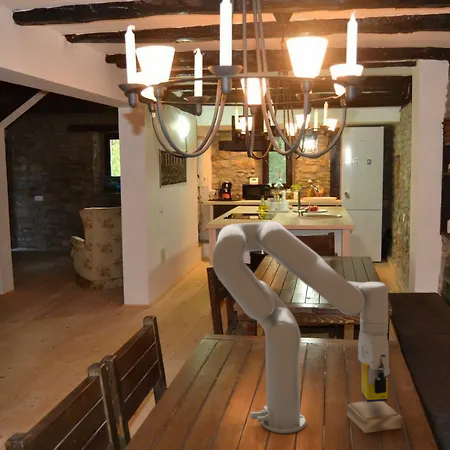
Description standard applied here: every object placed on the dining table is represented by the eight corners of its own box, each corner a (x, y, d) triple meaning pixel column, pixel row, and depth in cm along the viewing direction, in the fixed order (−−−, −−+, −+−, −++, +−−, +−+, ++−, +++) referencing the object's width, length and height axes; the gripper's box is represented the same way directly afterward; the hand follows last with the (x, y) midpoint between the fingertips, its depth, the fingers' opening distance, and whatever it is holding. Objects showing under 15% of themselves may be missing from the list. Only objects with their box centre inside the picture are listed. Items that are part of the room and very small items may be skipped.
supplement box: (381, 392, 162) (381, 356, 161) (387, 401, 156) (388, 363, 155) (360, 393, 162) (360, 357, 161) (366, 402, 156) (366, 364, 155)
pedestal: (364, 433, 153) (364, 419, 153) (347, 415, 164) (347, 402, 164) (401, 427, 156) (401, 414, 155) (381, 411, 167) (381, 398, 166)
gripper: (347, 319, 164) (348, 377, 166) (376, 336, 148) (376, 401, 150) (371, 316, 166) (371, 374, 168) (402, 333, 149) (402, 398, 151)
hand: (374, 386), depth 159 cm, fingers closed on supplement box, 6 cm apart
